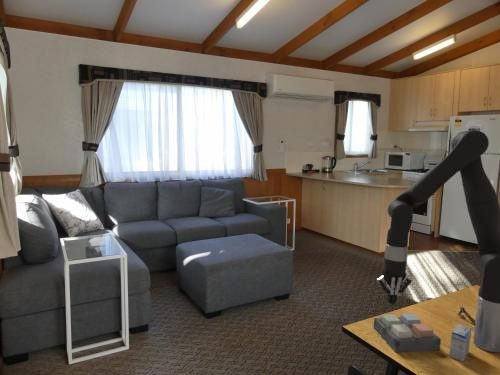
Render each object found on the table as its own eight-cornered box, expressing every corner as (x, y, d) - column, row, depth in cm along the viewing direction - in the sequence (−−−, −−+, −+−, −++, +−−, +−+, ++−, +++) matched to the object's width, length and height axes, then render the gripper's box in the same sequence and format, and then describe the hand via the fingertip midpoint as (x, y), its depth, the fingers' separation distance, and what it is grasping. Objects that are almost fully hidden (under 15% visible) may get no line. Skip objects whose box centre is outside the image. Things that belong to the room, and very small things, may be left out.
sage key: (393, 320, 143) (393, 314, 142) (400, 326, 138) (400, 320, 138) (381, 321, 142) (381, 314, 142) (387, 327, 137) (387, 321, 137)
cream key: (404, 330, 135) (404, 324, 135) (411, 337, 131) (412, 331, 130) (391, 331, 135) (391, 324, 134) (398, 338, 130) (398, 331, 130)
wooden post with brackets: (457, 312, 157) (462, 305, 155) (473, 328, 151) (478, 320, 149) (454, 313, 157) (459, 305, 155) (469, 329, 150) (475, 321, 148)
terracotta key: (424, 329, 136) (424, 323, 136) (432, 336, 132) (433, 330, 131) (411, 330, 136) (412, 323, 135) (419, 337, 131) (420, 330, 131)
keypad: (413, 326, 146) (414, 316, 146) (439, 349, 131) (440, 338, 130) (373, 328, 144) (374, 318, 144) (395, 352, 128) (396, 341, 128)
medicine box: (454, 347, 133) (456, 323, 132) (469, 351, 130) (471, 327, 129) (448, 356, 127) (451, 331, 126) (464, 362, 124) (466, 336, 123)
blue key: (412, 319, 144) (413, 313, 144) (419, 326, 139) (420, 319, 139) (400, 320, 143) (401, 314, 143) (407, 326, 138) (407, 320, 138)
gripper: (407, 253, 141) (403, 298, 144) (373, 254, 140) (369, 299, 142) (419, 260, 134) (414, 307, 136) (383, 260, 132) (378, 308, 135)
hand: (391, 303), depth 139 cm, fingers closed
